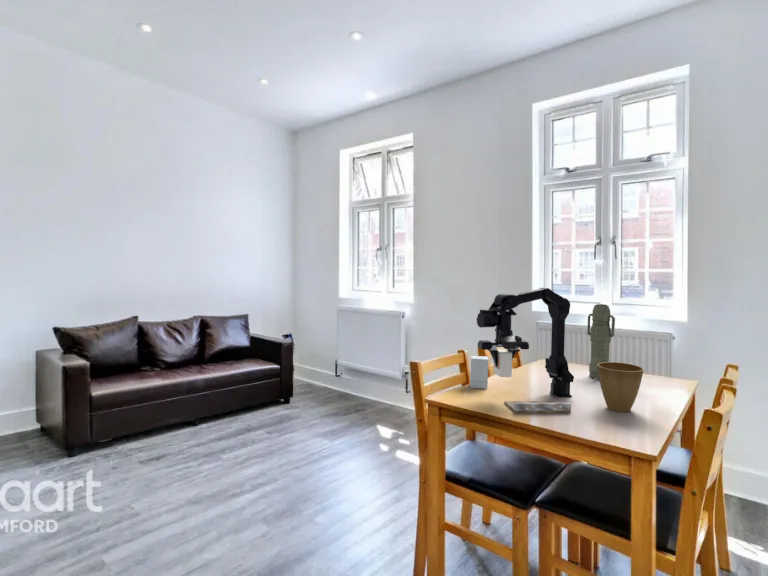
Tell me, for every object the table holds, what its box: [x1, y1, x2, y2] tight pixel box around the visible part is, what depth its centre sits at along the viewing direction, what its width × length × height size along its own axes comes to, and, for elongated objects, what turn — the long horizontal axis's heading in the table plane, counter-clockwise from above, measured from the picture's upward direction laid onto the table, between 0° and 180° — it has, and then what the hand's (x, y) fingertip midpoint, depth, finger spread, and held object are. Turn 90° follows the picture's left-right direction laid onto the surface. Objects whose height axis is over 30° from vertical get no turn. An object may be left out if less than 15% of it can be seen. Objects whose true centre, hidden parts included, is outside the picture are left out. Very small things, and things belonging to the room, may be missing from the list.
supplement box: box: [469, 355, 489, 390], centre depth 194 cm, size 7×7×13 cm
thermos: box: [586, 303, 616, 380], centre depth 213 cm, size 9×12×35 cm
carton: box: [493, 349, 513, 378], centre depth 173 cm, size 4×7×9 cm, turn 6°
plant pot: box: [598, 361, 644, 413], centre depth 163 cm, size 15×15×16 cm
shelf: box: [504, 400, 572, 414], centre depth 164 cm, size 20×12×3 cm, turn 93°
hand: (502, 366), depth 173 cm, fingers closed on carton, 4 cm apart
